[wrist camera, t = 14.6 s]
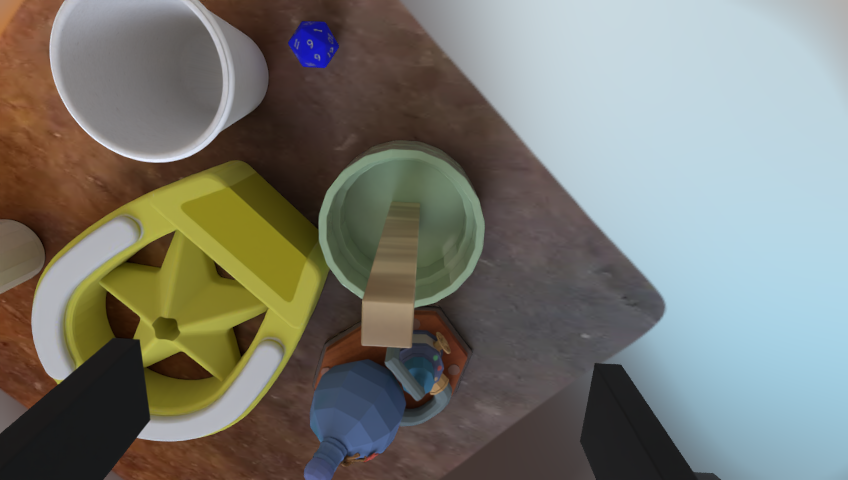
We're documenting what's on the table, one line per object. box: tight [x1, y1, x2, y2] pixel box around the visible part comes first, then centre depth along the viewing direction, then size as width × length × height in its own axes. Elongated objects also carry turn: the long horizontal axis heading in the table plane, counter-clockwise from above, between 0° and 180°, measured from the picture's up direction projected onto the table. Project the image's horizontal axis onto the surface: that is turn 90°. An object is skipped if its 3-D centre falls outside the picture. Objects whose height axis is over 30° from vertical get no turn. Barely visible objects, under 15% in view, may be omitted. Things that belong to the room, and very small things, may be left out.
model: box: [304, 306, 472, 480], centre depth 35 cm, size 12×9×9 cm
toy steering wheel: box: [32, 160, 330, 441], centre depth 35 cm, size 16×21×5 cm
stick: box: [361, 201, 420, 348], centre depth 27 cm, size 2×2×16 cm
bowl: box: [319, 140, 485, 308], centre depth 33 cm, size 10×10×5 cm
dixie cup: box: [50, 0, 269, 162], centre depth 28 cm, size 8×8×10 cm
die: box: [288, 21, 339, 68], centre depth 31 cm, size 3×3×3 cm
